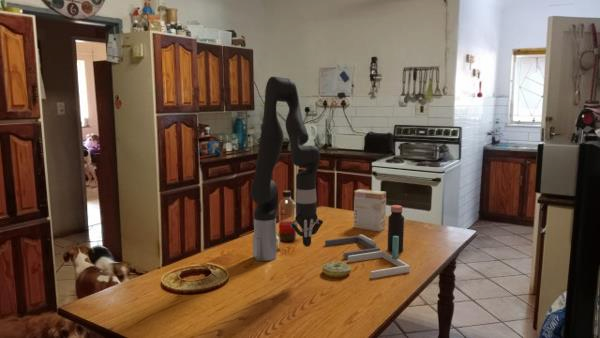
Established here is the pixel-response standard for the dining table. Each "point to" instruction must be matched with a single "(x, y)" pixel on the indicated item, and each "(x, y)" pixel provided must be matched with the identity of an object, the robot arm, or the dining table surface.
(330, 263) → the decorated donut
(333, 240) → the grey u-shaped handle
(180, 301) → the dining table surface
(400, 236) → the vinegar
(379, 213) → the coffeecake box
